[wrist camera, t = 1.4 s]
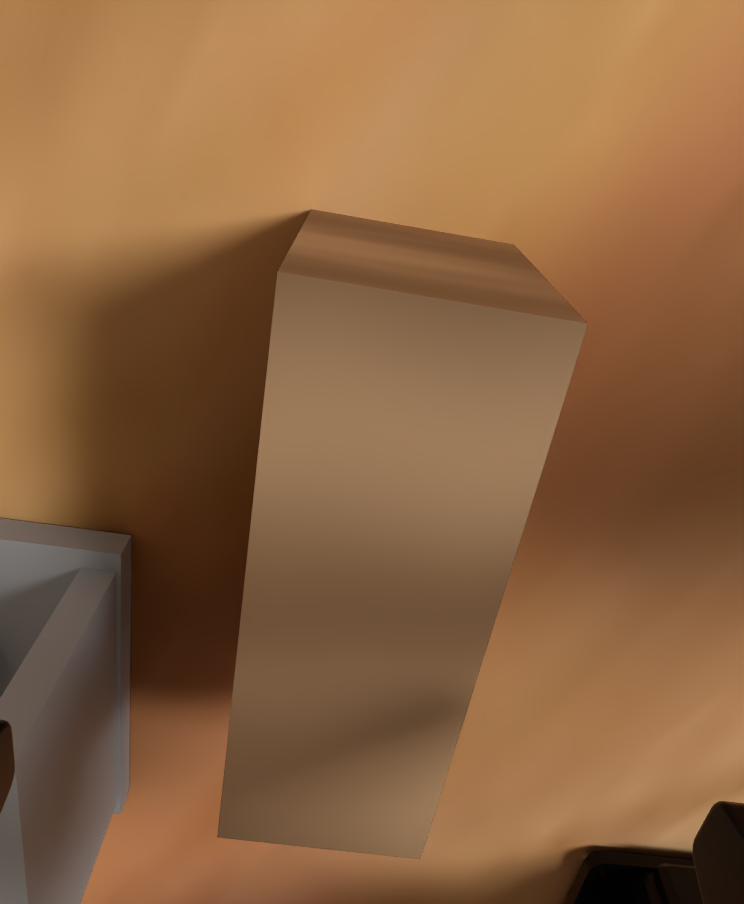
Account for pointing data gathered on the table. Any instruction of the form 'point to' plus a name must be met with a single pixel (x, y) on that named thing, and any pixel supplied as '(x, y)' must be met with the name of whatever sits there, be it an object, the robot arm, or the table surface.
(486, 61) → the table surface
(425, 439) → the brown rectangular block
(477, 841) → the table surface
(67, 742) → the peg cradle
